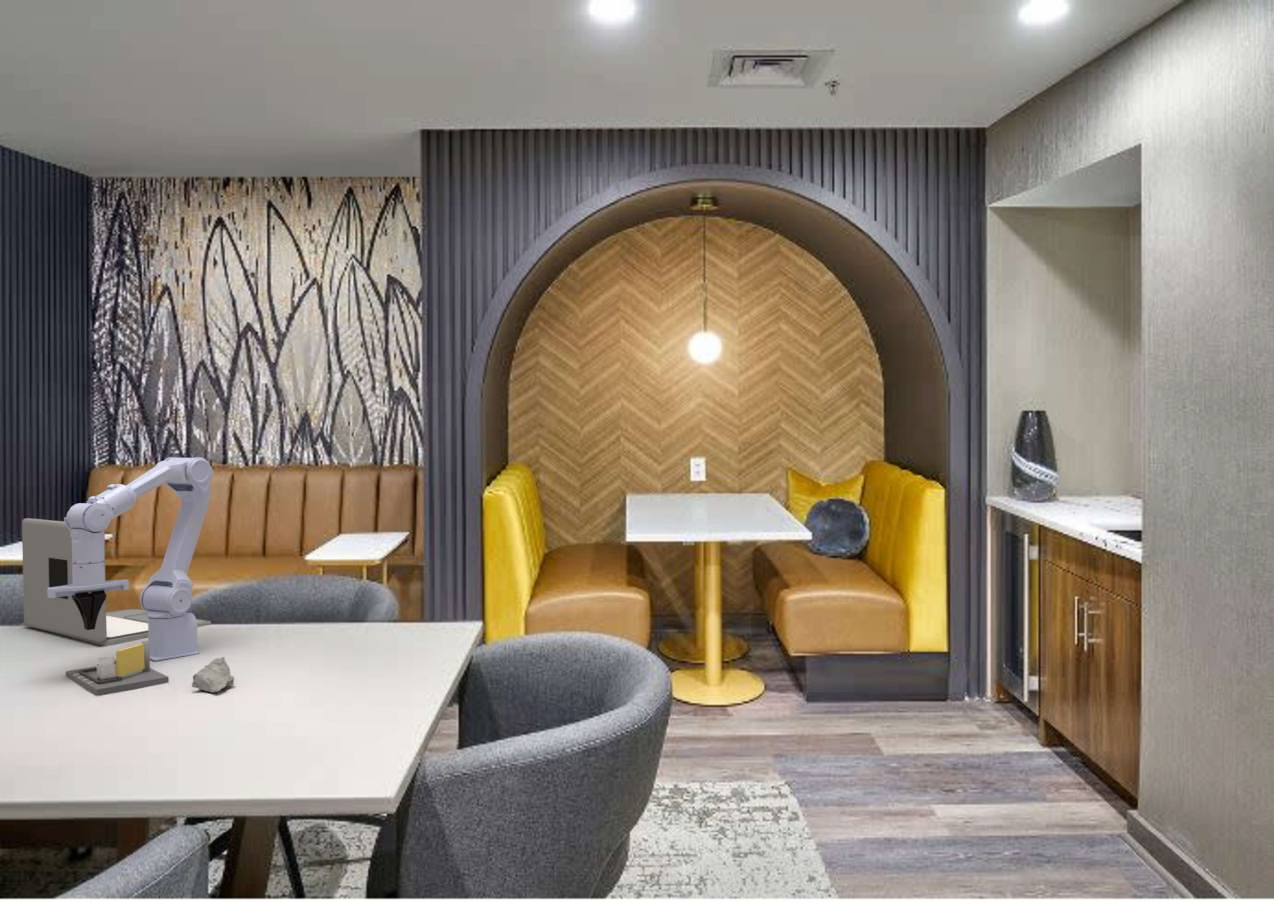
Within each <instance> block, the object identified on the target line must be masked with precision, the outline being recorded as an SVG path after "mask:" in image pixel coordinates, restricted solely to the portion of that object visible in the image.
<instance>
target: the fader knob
mask: <svg viewBox="0 0 1274 902" xmlns="http://www.w3.org/2000/svg"><path fill="white" fill-rule="evenodd" d="M114 659H115V658H114V656H109V657H102V658H98V664H96V666H97V680H99V681H105V680H111V679H116V664H115V663H114V661H115V660H114Z"/></svg>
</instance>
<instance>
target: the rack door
mask: <svg viewBox="0 0 1274 902" xmlns="http://www.w3.org/2000/svg"><path fill="white" fill-rule="evenodd" d="M114 663H115V664H116V673H117V676H119V677H120V676H123V675H126V674H129V673H132V672H136V671H139V670H142V669H145V662H144V644H142V643H139V644H135V645H132V646H129V647H125V648H121V649H118V650H116V651H115V660H114Z"/></svg>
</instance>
